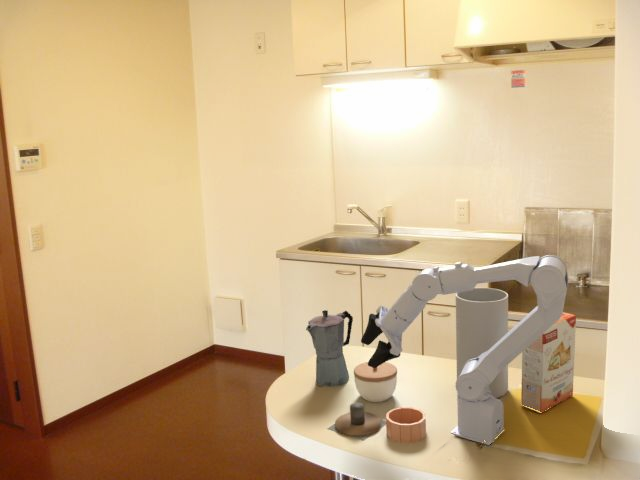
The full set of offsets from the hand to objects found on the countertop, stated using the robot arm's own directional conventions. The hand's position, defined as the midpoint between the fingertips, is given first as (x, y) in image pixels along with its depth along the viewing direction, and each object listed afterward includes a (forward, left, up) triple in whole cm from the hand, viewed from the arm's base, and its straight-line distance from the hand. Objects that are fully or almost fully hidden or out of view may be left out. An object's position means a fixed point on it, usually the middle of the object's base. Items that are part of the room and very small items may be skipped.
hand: (367, 354), depth 154 cm
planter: (-11, +2, -16) cm, 20 cm away
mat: (0, +5, -16) cm, 17 cm away
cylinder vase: (-15, -28, -16) cm, 35 cm away
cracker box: (-31, -30, -16) cm, 46 cm away
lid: (0, +5, -15) cm, 16 cm away
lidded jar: (+5, -10, -16) cm, 19 cm away
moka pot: (+21, -13, -16) cm, 29 cm away
